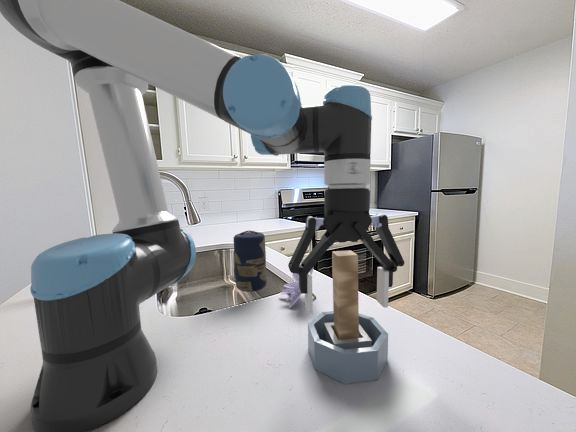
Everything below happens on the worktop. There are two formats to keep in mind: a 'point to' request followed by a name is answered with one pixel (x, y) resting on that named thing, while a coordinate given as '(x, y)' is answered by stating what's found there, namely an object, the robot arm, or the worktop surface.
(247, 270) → the canister
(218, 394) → the worktop surface
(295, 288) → the water lily
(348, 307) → the square wooden post
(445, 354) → the worktop surface
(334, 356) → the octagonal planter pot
